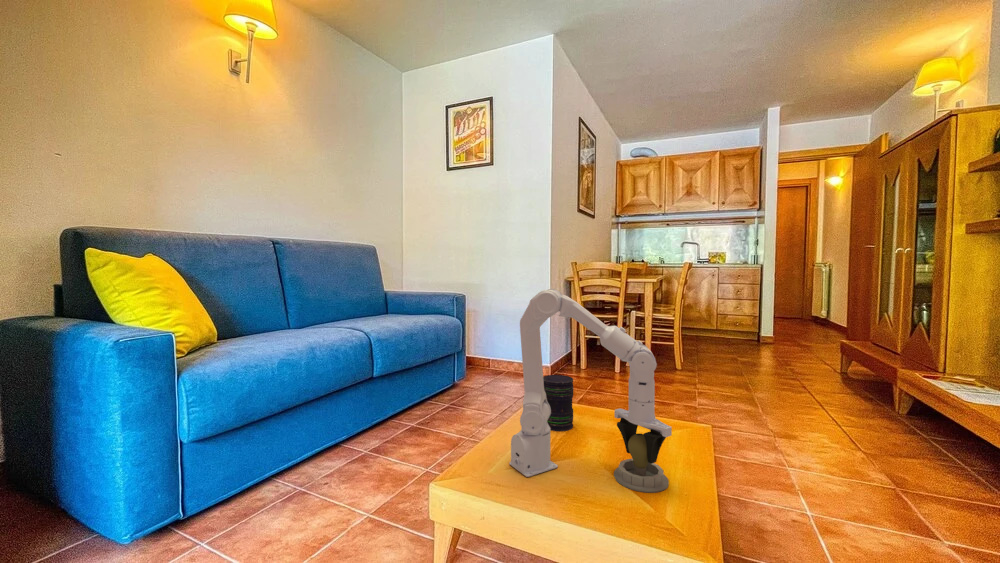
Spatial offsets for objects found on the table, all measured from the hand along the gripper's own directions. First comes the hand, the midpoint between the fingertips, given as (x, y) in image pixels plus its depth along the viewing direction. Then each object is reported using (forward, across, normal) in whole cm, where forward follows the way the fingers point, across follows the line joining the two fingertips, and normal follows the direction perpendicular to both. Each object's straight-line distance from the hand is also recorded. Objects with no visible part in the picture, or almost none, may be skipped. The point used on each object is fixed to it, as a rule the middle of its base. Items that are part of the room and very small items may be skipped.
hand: (641, 457), depth 93 cm
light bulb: (+5, 0, 0) cm, 5 cm away
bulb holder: (+5, 0, 0) cm, 5 cm away
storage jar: (+5, +36, -5) cm, 37 cm away
